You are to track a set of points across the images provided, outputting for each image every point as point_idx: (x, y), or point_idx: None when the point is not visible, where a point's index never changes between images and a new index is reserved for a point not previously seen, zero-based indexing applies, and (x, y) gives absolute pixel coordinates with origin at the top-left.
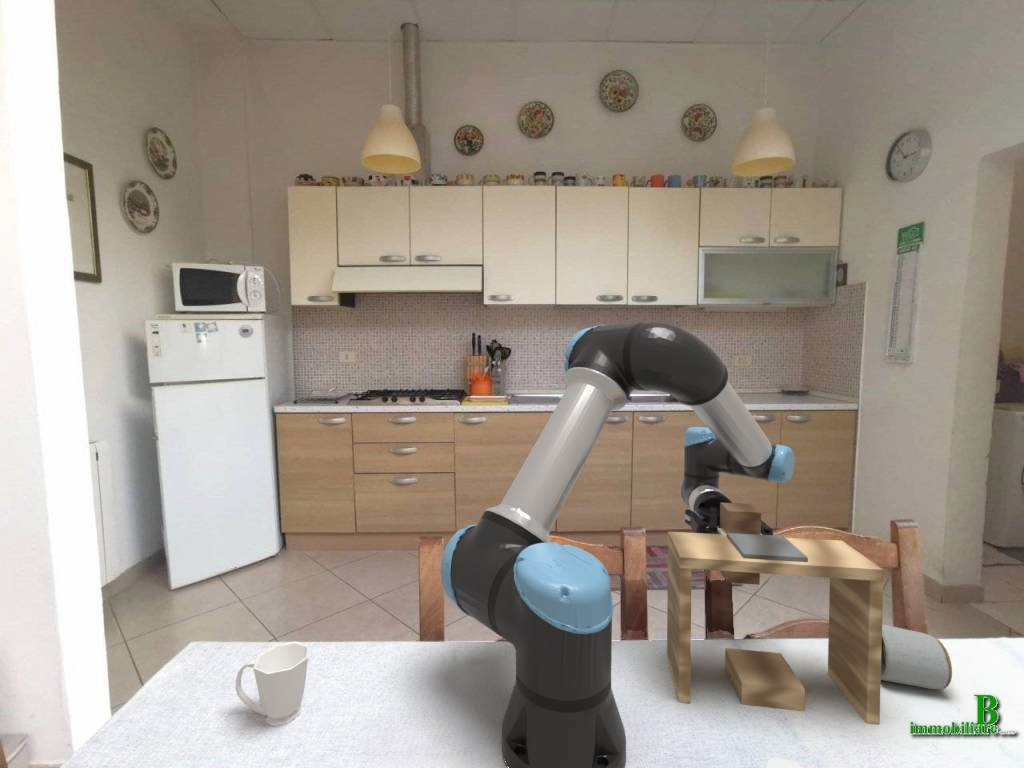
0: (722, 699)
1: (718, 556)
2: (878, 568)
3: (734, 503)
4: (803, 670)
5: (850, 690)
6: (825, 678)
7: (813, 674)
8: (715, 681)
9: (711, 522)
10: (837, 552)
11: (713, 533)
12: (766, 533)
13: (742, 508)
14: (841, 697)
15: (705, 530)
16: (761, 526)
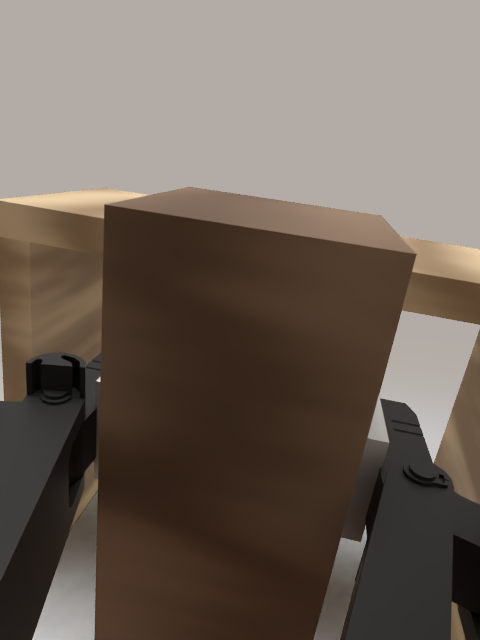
0: (342, 539)
1: (440, 245)
2: (109, 189)
3: (268, 227)
4: (91, 595)
5: (89, 483)
6: (65, 562)
7: (80, 578)
8: (343, 586)
9: (428, 587)
10: (114, 201)
11: (417, 443)
12: (11, 404)
13: (265, 206)
14: (93, 513)
15: (478, 511)
16: (58, 355)
